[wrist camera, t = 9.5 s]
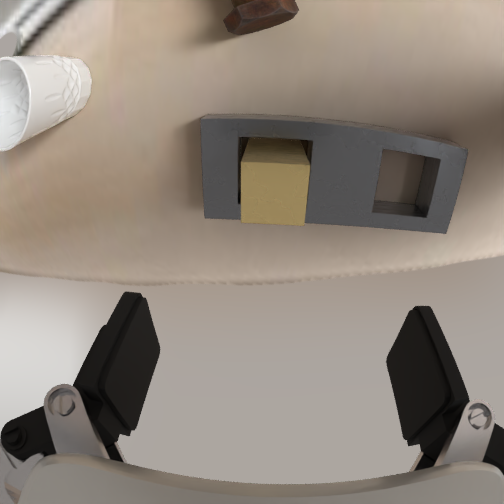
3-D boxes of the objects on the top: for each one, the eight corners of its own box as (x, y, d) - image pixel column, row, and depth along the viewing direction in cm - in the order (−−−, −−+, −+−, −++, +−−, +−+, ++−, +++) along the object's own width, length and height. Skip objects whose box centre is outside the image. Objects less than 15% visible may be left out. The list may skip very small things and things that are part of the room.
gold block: (299, 140, 26) (310, 165, 19) (296, 185, 28) (304, 225, 22) (249, 137, 26) (241, 161, 19) (248, 183, 29) (241, 222, 22)
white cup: (93, 124, 26) (30, 154, 17) (39, 121, 25) (-25, 149, 17) (102, 49, 21) (35, 51, 13) (44, 54, 21) (-24, 63, 12)
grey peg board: (452, 141, 24) (468, 149, 21) (434, 220, 29) (446, 233, 26) (207, 114, 25) (200, 118, 22) (210, 204, 30) (204, 218, 27)
